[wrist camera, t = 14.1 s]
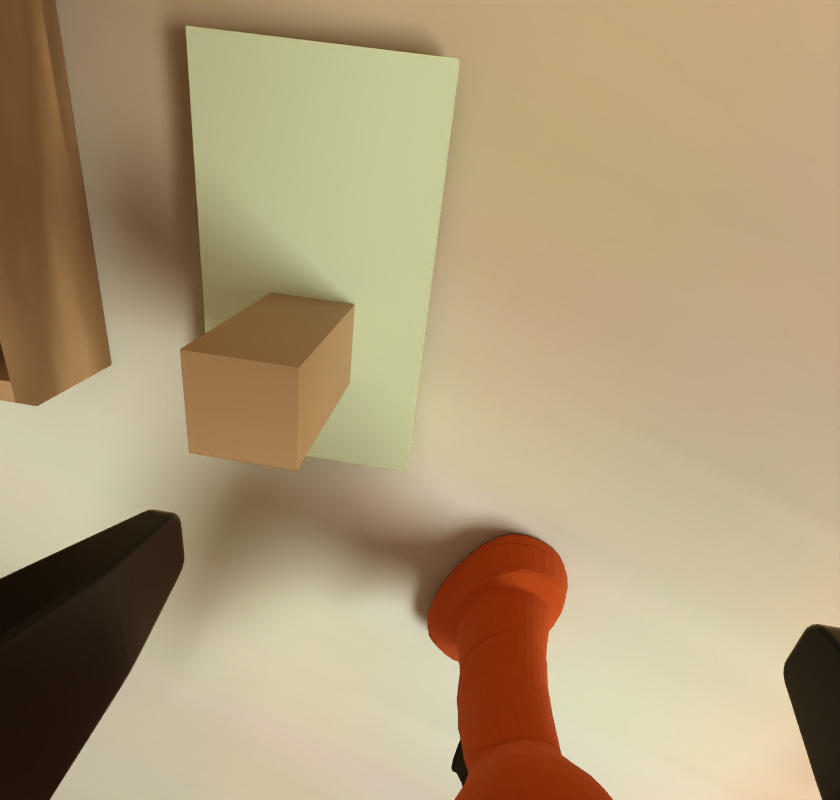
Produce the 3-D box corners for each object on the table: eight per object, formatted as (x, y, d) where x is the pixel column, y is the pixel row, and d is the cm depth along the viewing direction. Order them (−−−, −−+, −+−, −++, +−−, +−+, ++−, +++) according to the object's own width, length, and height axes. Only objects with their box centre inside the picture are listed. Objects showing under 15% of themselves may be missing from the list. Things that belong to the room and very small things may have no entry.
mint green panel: (229, 422, 23) (118, 537, 16) (211, 36, 17) (17, -48, 10) (411, 451, 22) (377, 583, 15) (461, 67, 16) (441, 1, 9)
